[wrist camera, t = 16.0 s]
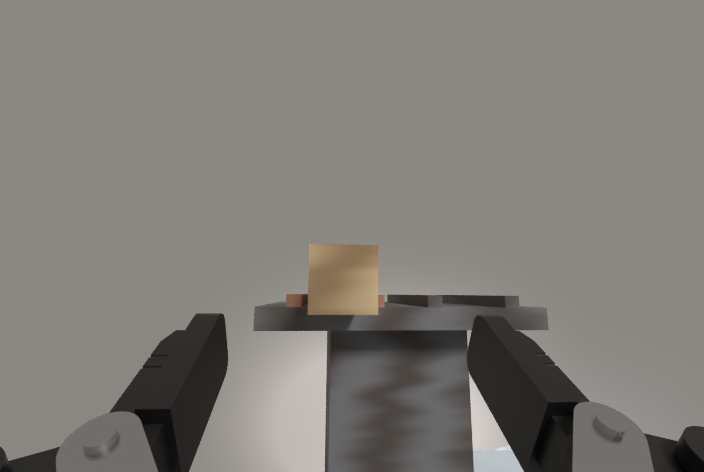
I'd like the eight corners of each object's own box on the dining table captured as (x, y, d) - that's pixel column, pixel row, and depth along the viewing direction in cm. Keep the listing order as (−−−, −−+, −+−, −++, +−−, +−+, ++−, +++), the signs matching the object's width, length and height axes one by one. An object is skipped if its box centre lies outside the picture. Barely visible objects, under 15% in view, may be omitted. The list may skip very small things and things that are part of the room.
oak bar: (343, 302, 36) (344, 273, 36) (378, 314, 14) (377, 245, 15) (315, 301, 36) (316, 273, 36) (307, 314, 14) (309, 244, 15)
